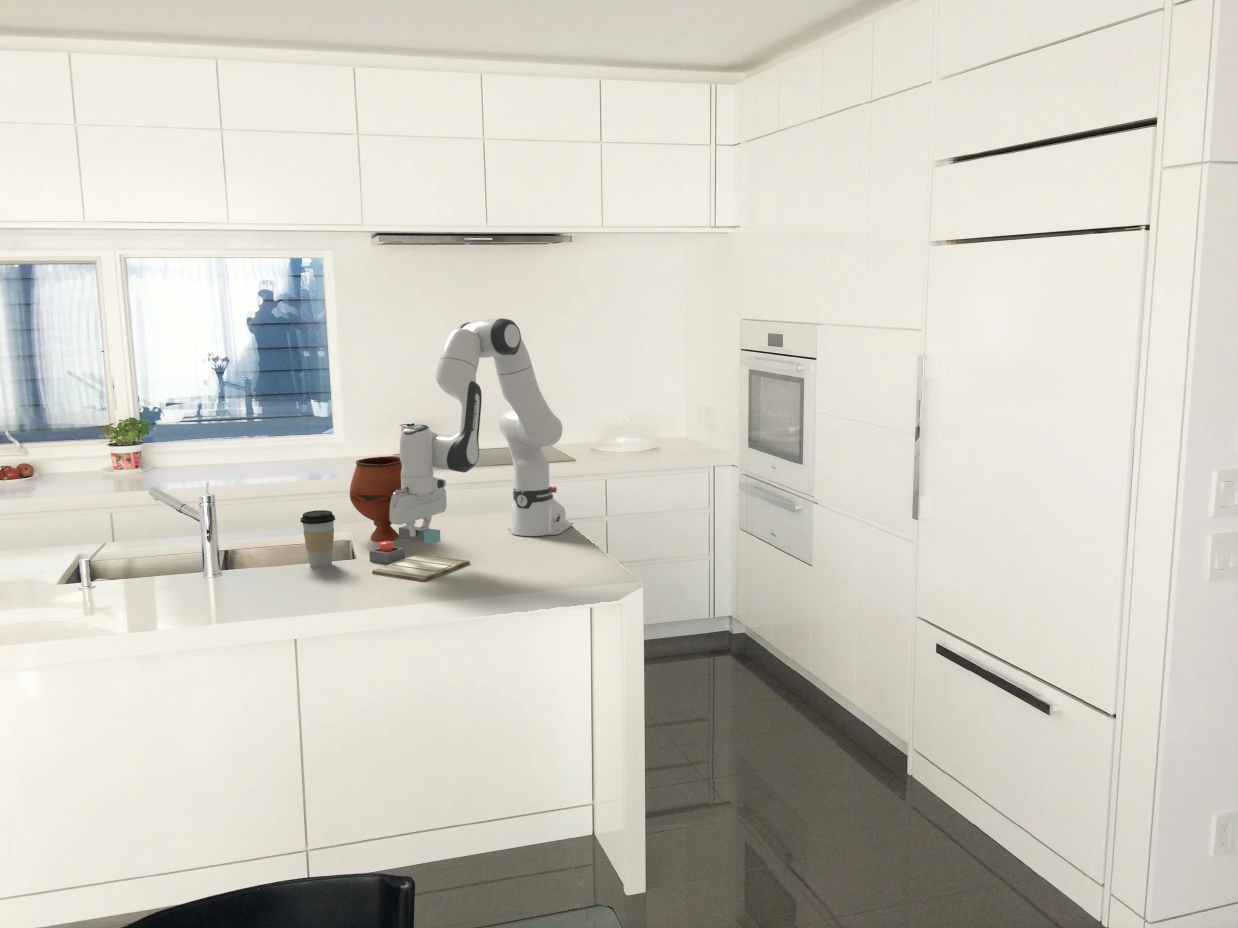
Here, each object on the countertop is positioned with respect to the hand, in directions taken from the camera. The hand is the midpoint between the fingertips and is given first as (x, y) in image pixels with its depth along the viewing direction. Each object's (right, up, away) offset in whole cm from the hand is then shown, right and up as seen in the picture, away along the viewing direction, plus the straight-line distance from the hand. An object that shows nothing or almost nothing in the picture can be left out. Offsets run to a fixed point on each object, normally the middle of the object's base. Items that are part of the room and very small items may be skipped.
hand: (419, 534), depth 277 cm
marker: (0, -2, 0) cm, 2 cm away
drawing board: (0, -10, +2) cm, 10 cm away
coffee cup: (-29, -9, +6) cm, 31 cm away
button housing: (-11, -8, +11) cm, 18 cm away
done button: (-11, -6, +11) cm, 17 cm away
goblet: (-18, -4, +36) cm, 41 cm away
